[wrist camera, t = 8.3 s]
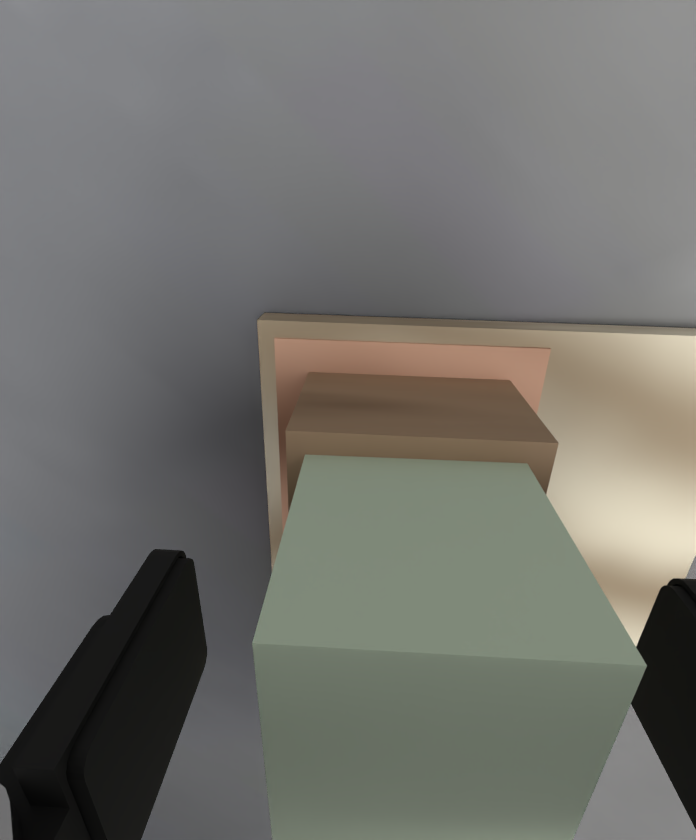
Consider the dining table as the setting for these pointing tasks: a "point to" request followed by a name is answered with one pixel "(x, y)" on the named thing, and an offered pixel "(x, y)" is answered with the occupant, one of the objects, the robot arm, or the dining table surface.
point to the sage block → (434, 657)
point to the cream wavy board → (556, 407)
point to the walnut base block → (416, 422)
